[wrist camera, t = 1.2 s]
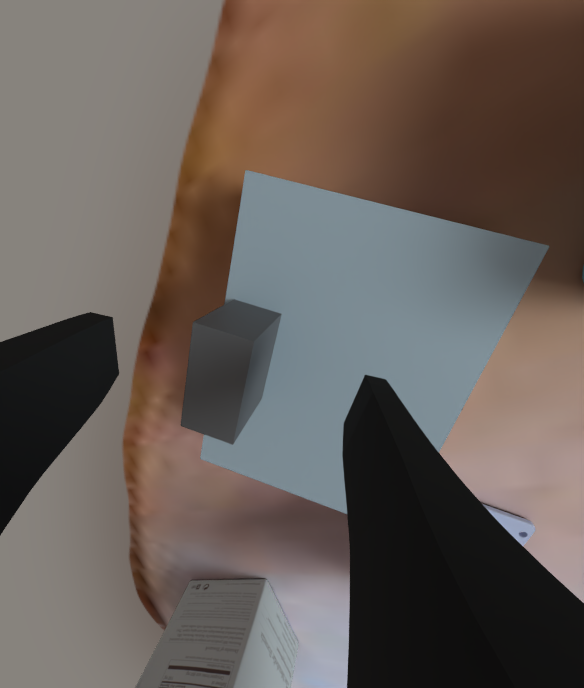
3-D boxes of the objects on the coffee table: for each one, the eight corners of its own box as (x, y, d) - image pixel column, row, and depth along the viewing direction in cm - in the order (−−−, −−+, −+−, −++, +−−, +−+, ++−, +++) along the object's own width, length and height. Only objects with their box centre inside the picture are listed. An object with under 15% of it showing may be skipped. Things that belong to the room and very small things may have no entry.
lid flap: (394, 520, 19) (401, 607, 15) (206, 450, 21) (162, 510, 17) (539, 244, 13) (624, 256, 9) (252, 172, 15) (199, 151, 10)
